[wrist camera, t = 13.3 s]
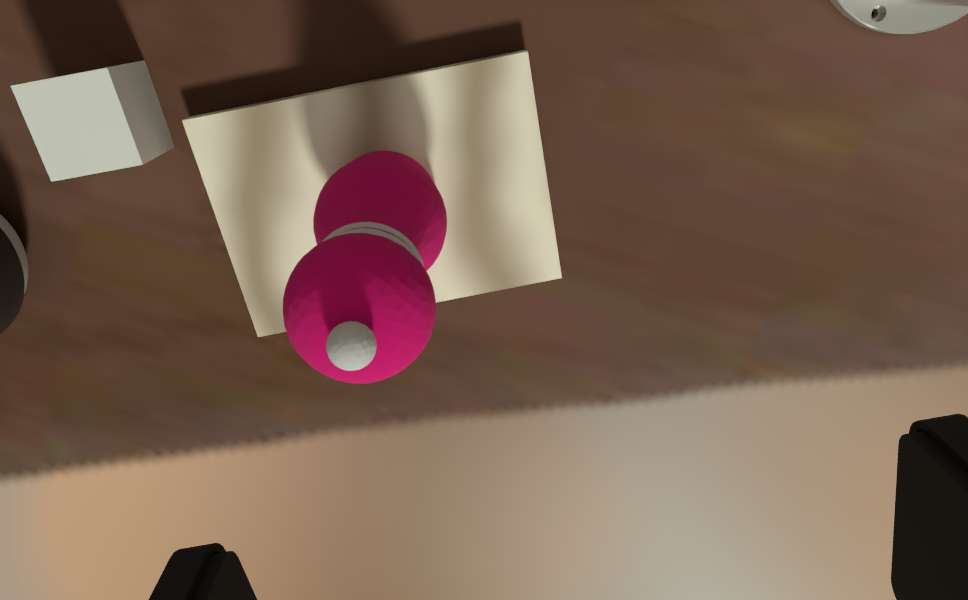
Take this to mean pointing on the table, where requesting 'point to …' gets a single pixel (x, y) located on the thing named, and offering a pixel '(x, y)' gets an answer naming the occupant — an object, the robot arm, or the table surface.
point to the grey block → (95, 120)
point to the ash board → (386, 127)
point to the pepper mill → (368, 270)
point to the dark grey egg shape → (11, 274)
